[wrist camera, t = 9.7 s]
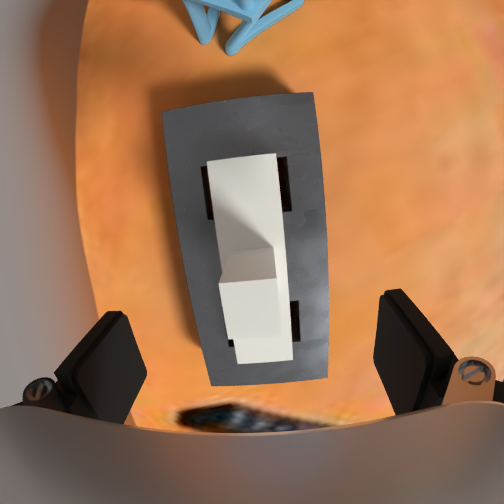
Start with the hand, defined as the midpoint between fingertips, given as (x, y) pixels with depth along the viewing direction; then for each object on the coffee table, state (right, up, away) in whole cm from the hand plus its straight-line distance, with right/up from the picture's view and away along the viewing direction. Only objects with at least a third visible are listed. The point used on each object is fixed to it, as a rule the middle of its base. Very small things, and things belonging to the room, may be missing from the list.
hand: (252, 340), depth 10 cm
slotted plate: (0, +4, +14) cm, 14 cm away
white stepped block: (0, +3, +13) cm, 14 cm away
